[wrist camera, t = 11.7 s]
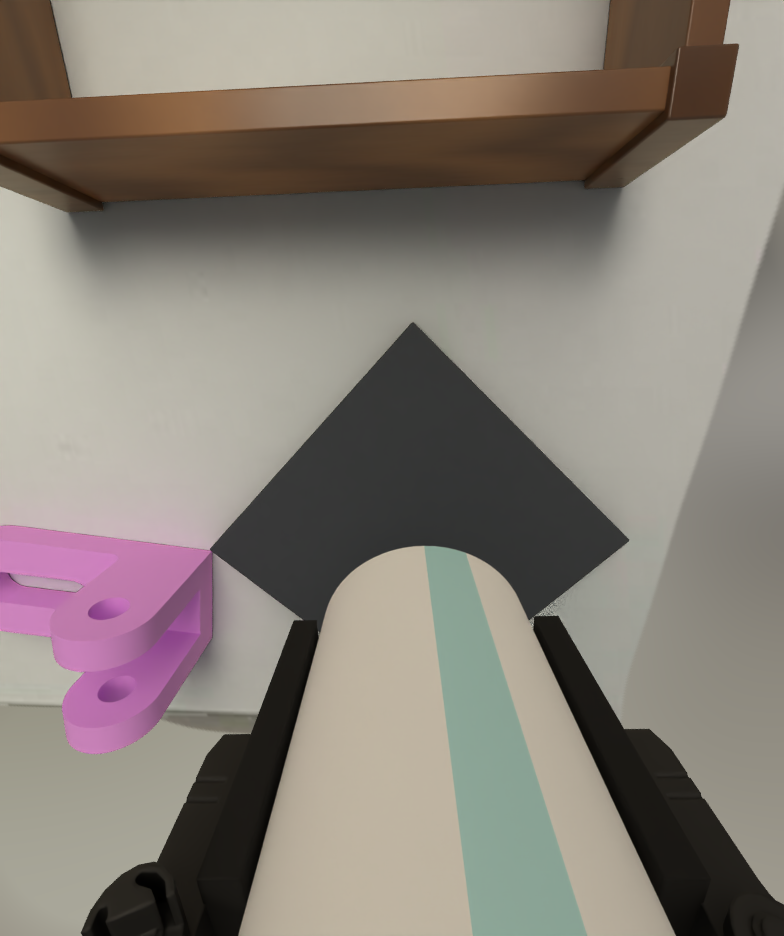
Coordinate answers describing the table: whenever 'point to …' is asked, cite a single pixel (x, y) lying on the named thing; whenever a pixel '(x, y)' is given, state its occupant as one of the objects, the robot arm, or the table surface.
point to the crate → (364, 120)
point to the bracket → (110, 624)
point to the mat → (417, 492)
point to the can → (441, 776)
